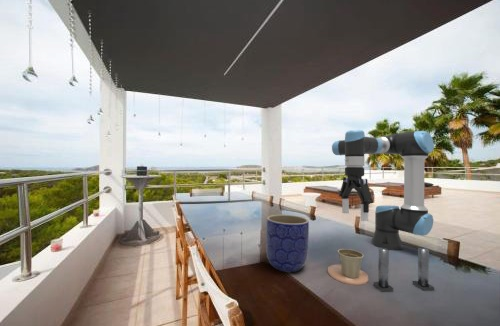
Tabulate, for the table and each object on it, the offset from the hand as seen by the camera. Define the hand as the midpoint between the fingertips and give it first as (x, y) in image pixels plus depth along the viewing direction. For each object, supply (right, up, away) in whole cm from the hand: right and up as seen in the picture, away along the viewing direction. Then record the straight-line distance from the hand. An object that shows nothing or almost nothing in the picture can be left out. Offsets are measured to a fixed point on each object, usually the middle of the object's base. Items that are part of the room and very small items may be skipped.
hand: (354, 216), depth 92 cm
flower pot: (-5, -22, -6) cm, 23 cm away
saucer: (-5, -23, -4) cm, 24 cm away
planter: (-29, -22, +2) cm, 37 cm away
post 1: (+4, -23, -13) cm, 27 cm away
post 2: (+20, -23, -12) cm, 33 cm away
